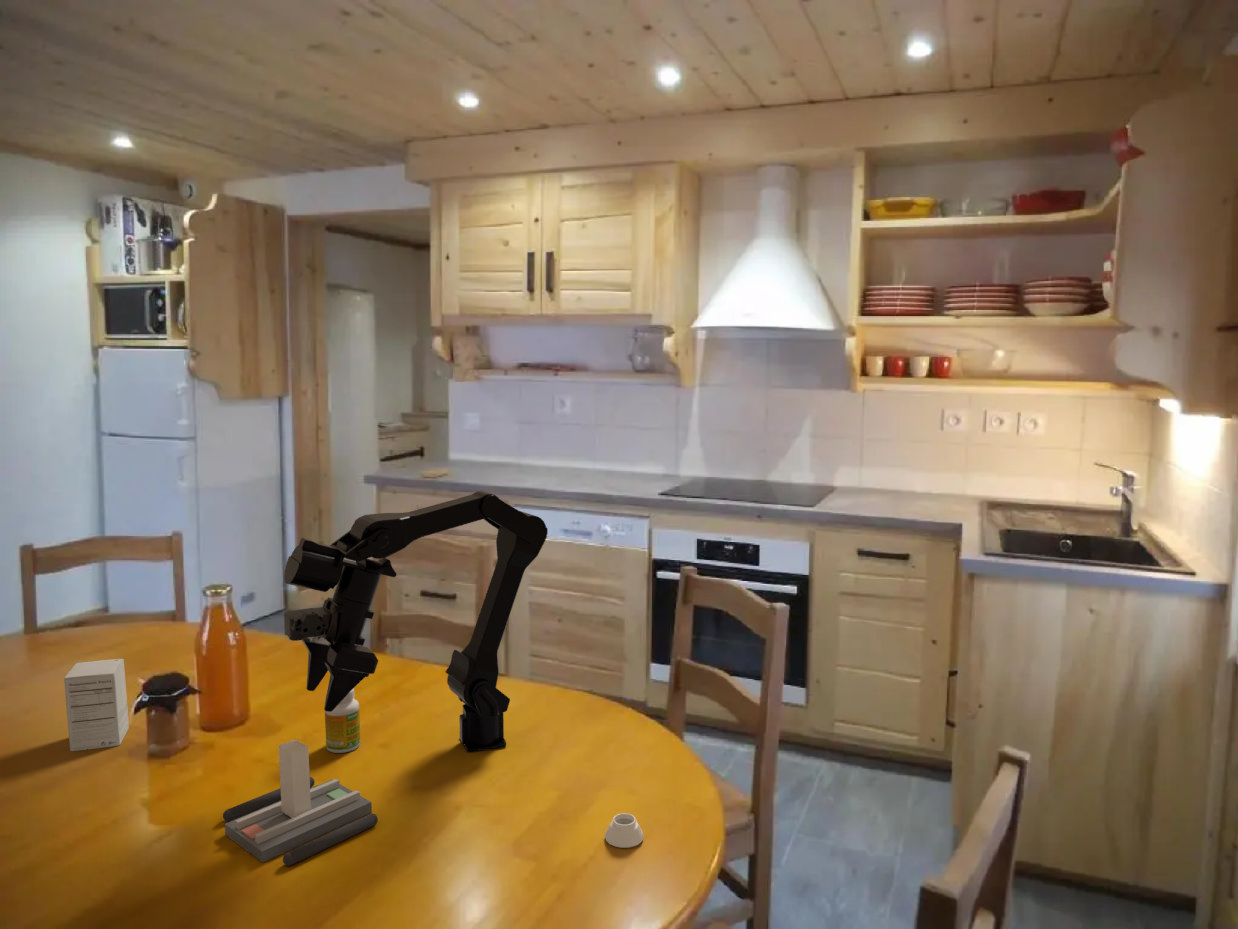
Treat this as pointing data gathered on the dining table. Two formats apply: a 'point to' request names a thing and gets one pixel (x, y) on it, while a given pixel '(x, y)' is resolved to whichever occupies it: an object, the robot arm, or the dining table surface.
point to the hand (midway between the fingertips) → (318, 700)
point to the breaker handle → (294, 778)
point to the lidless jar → (624, 831)
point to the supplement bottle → (343, 726)
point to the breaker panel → (297, 821)
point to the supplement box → (96, 704)
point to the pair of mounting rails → (312, 846)
